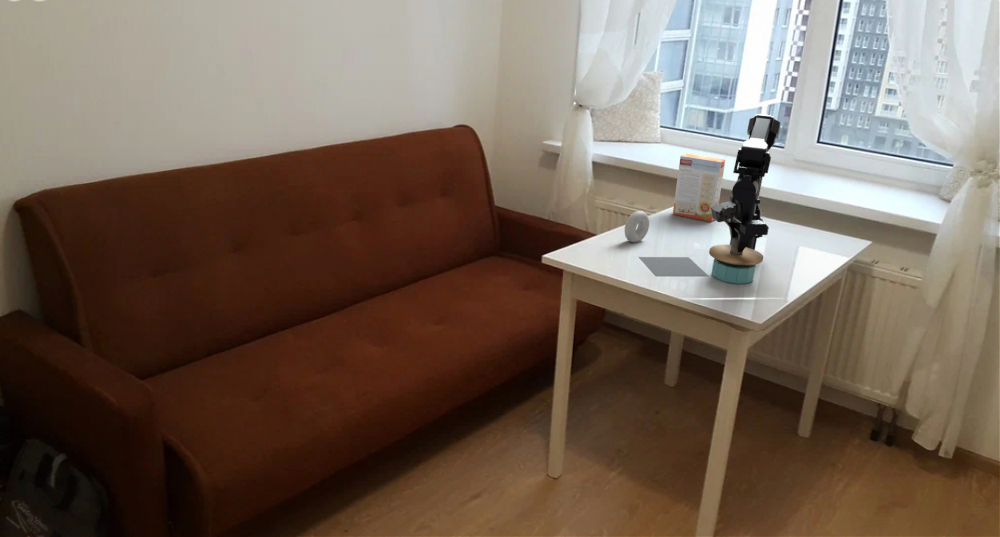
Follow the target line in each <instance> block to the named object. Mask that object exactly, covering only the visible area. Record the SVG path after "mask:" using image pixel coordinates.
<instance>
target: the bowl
mask: <svg viewBox="0 0 1000 537" xmlns="http://www.w3.org/2000/svg"><path fill="white" fill-rule="evenodd" d="M756 265H757V264H756ZM756 265H737V264H731V263H726V262H723V261H720V260H717V259H715V258H713V263H712V270H711V275H712V276H713V277H714V278H716V279H717V280H719V281H722V282H725V283H727V284H728V283H729V284H735V285H737V284H738V285H741V284H749V283H751V282H753V281H754V277H755V271H756Z"/></svg>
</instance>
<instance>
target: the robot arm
mask: <svg viewBox="0 0 1000 537" xmlns="http://www.w3.org/2000/svg"><path fill="white" fill-rule="evenodd" d="M746 130H747V131H746V134H747V136H749V137H748V139H747V140H745V141H743V142H742V145H741V147H740V148H738V150H737V154H736V158H735V163H734V168H733V171H732V172H733V174H737V180H736V181H735V183H734V185H733V186H732V189H731V190H732V191H731V196H730V198H729V201H724V202H719V204H717V205H714V206H712V207H711V212H712V217H713V219H715V220H714V221H716V222H717V223H722V222H723V223H724V224H726V225H727V227H728V229H729V234H730V240H729V245H731V244H732V238H733V237H738V252H742V251H743V250H744V249H745V247H747V248H750V249H753V250H756V245H757V241H758V239H760V238H763V236H767V235H768V234H769V229H770V228H769V226H768V225H767V224H766V223H765V222H764V218H763V217H762V213H763V211H762V209H761V206H760V203H761V199H759V198H760V193H761V189H762V188H761V187H762V182H763V178H765V176H766V174H769V173H768V172H769V169H770V165H771V159H772V156H771V153H770V152H769V151H770V150H771V149H772V148H773V146H774V145H775V143H776V139H778V138H779V135H780V131H781V122H780V121H779V120H778V119H776V118H775V116H773V115H769V114H762V113H758V114H757V113H756V114H754V116H753V117H751V118H749V121H748V126H747V129H746Z"/></svg>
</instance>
